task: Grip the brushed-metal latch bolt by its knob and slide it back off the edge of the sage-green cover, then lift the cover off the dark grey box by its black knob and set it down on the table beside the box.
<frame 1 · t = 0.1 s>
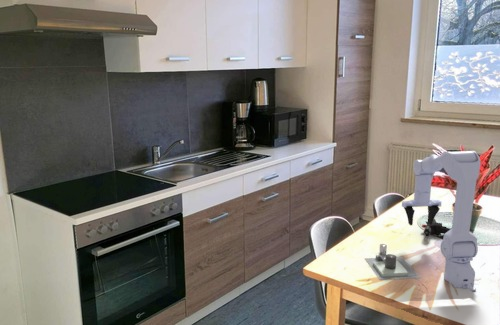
hand: (420, 224, 170), 10 cm above the table, tool pointing down, fingers open, 7 cm apart
lid: (390, 269, 152), point 1 cm above the table, touching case
bolt: (384, 252, 158), point 5 cm above the table, slide at 0.0 cm
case: (391, 271, 154), on the table
black power drill: (440, 235, 185), on the table
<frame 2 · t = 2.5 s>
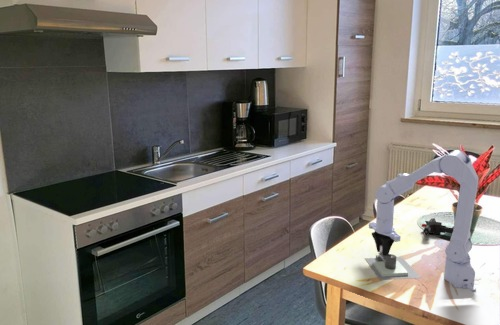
hand: (382, 253, 159), 4 cm above the table, tool pointing down, fingers closed on bolt, 2 cm apart
bolt: (384, 252, 158), point 5 cm above the table, slide at 0.0 cm, touching gripper
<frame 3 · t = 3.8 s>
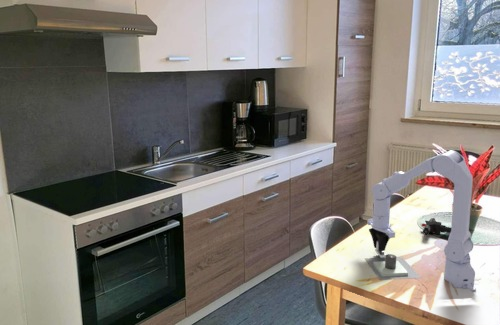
hand: (379, 248, 162), 4 cm above the table, tool pointing down, fingers closed on bolt, 2 cm apart
bolt: (380, 248, 161), point 5 cm above the table, slide at 3.5 cm, touching gripper
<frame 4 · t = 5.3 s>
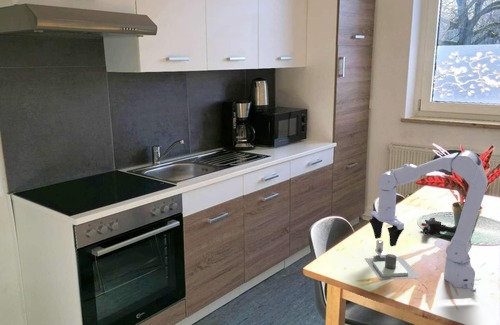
hand: (385, 241, 156), 9 cm above the table, tool pointing down, fingers open, 7 cm apart
bolt: (380, 248, 161), point 5 cm above the table, slide at 3.5 cm
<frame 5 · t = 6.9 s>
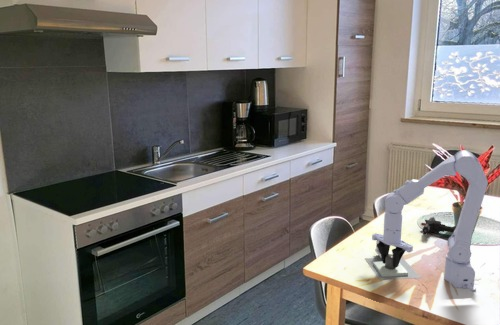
hand: (390, 264, 152), 3 cm above the table, tool pointing down, fingers closed on lid, 4 cm apart
lid: (390, 269, 152), point 1 cm above the table, touching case, gripper
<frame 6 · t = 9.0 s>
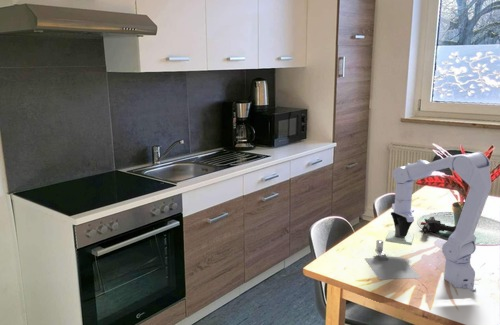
hand: (400, 233, 162), 10 cm above the table, tool pointing down, fingers closed on lid, 4 cm apart
lid: (399, 238, 162), point 8 cm above the table, touching gripper
when the fingers open (4 cm above the table, at t = 11.0 s): lid drops 2 cm, on the table.
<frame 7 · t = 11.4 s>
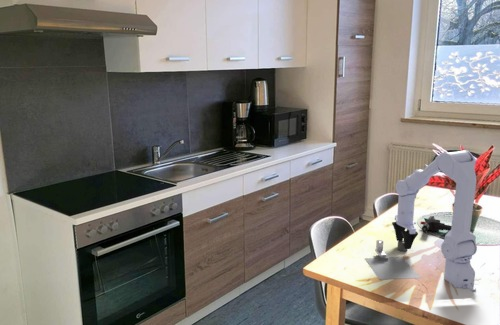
hand: (403, 244, 168), 4 cm above the table, tool pointing down, fingers open, 7 cm apart
lid: (401, 254, 169), on the table
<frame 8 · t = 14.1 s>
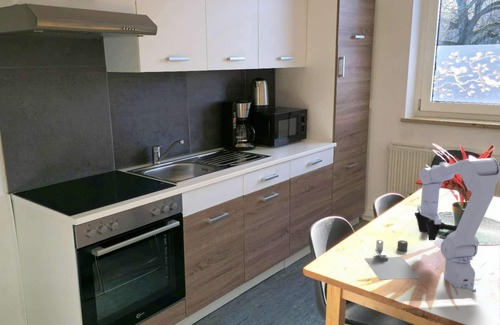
hand: (427, 235, 161), 9 cm above the table, tool pointing down, fingers open, 7 cm apart
at the end: bolt slide at 3.5 cm; lid inside the target area (0.3 cm from its centre), on the table; lid tilted 0° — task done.
